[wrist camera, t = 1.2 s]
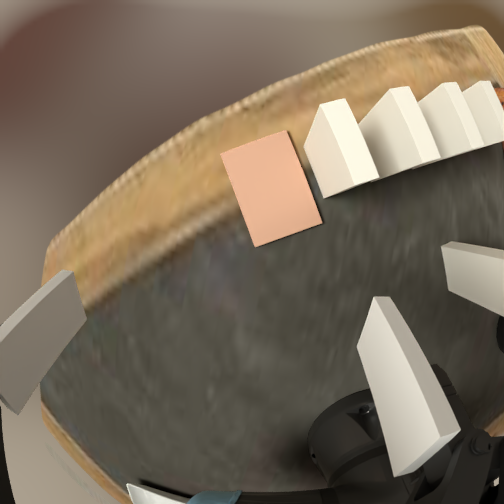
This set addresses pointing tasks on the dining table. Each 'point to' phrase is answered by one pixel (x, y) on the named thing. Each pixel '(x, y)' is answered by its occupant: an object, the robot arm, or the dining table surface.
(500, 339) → the coffee jar
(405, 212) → the dining table surface
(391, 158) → the domino
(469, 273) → the domino
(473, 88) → the domino
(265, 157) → the mat
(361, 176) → the domino
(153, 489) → the square plate
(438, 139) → the domino
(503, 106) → the slice of bread
